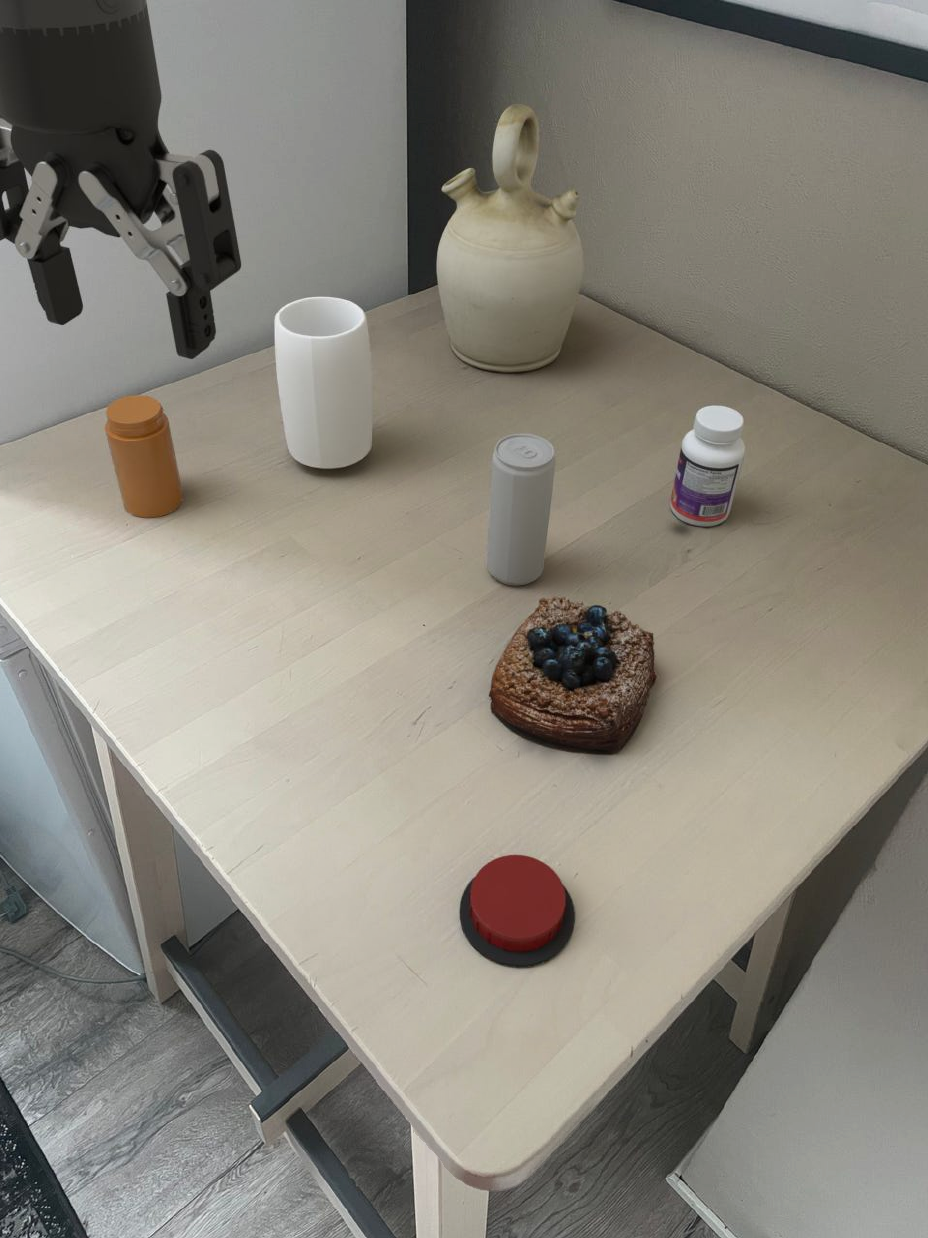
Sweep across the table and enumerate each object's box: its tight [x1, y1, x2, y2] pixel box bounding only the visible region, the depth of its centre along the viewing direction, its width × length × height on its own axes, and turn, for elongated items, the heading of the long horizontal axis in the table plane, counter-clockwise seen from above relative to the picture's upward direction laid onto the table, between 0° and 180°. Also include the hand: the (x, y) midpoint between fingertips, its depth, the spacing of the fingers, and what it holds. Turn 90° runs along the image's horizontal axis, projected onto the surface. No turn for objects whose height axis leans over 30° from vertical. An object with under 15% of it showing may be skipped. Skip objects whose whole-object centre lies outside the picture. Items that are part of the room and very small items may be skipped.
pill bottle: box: [669, 405, 746, 528], centre depth 90 cm, size 5×5×10 cm
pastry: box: [488, 596, 658, 755], centre depth 74 cm, size 11×12×6 cm
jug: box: [436, 103, 585, 374], centre depth 105 cm, size 15×16×25 cm
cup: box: [274, 296, 373, 469], centre depth 93 cm, size 8×8×14 cm
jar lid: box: [469, 854, 566, 953], centre depth 62 cm, size 6×6×2 cm
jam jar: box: [104, 394, 184, 519], centre depth 88 cm, size 5×5×9 cm
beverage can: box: [486, 433, 556, 587], centre depth 82 cm, size 5×5×12 cm
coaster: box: [459, 876, 576, 969], centre depth 62 cm, size 7×7×1 cm
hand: (129, 334), depth 56 cm, fingers open, 8 cm apart
